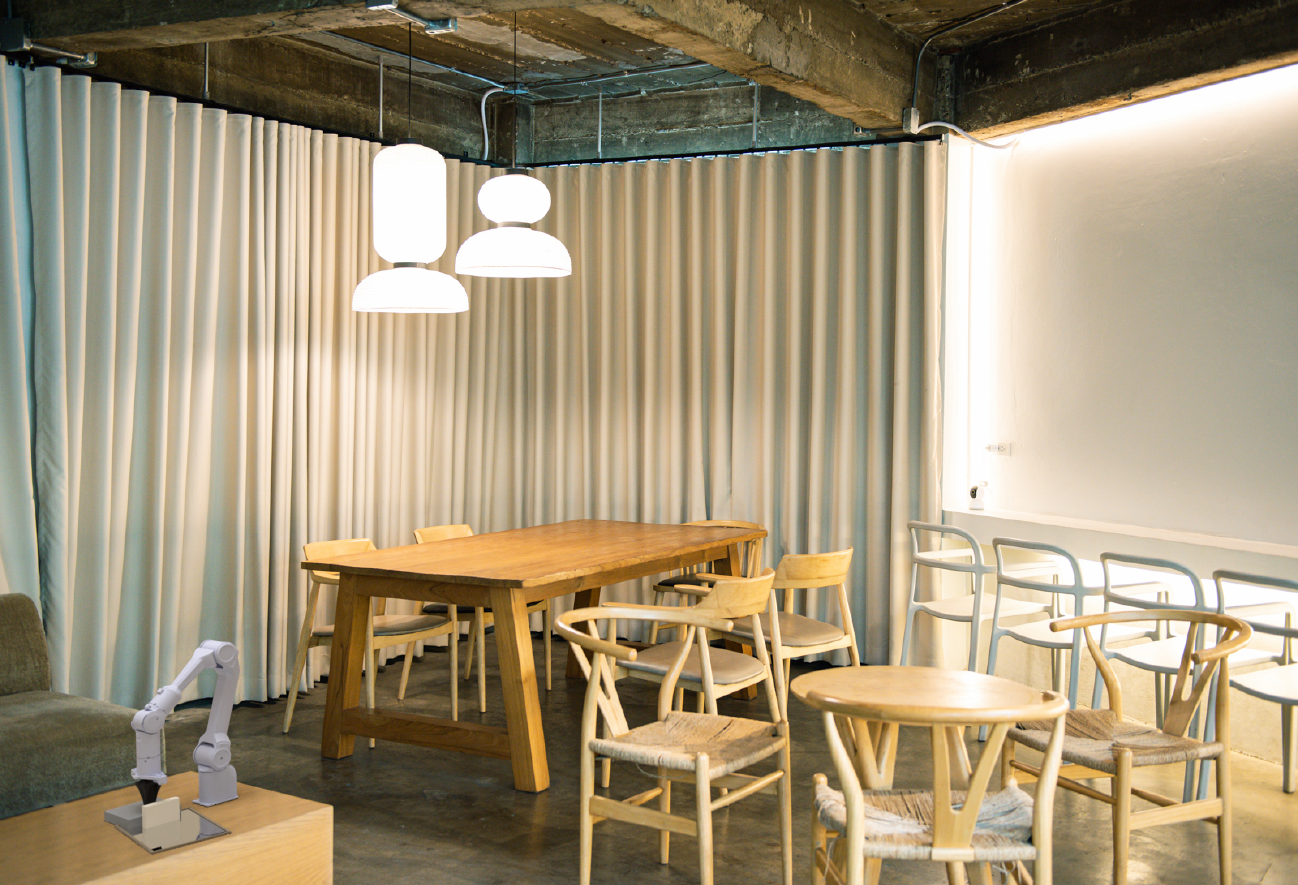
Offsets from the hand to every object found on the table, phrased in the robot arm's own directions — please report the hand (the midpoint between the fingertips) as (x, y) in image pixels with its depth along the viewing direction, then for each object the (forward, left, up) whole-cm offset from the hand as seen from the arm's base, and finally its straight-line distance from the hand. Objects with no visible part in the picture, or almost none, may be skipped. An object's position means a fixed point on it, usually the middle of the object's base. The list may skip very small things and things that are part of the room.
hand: (149, 807), depth 280 cm
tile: (0, +5, 0) cm, 5 cm away
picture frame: (+1, +13, -4) cm, 14 cm away
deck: (0, -4, -3) cm, 5 cm away
